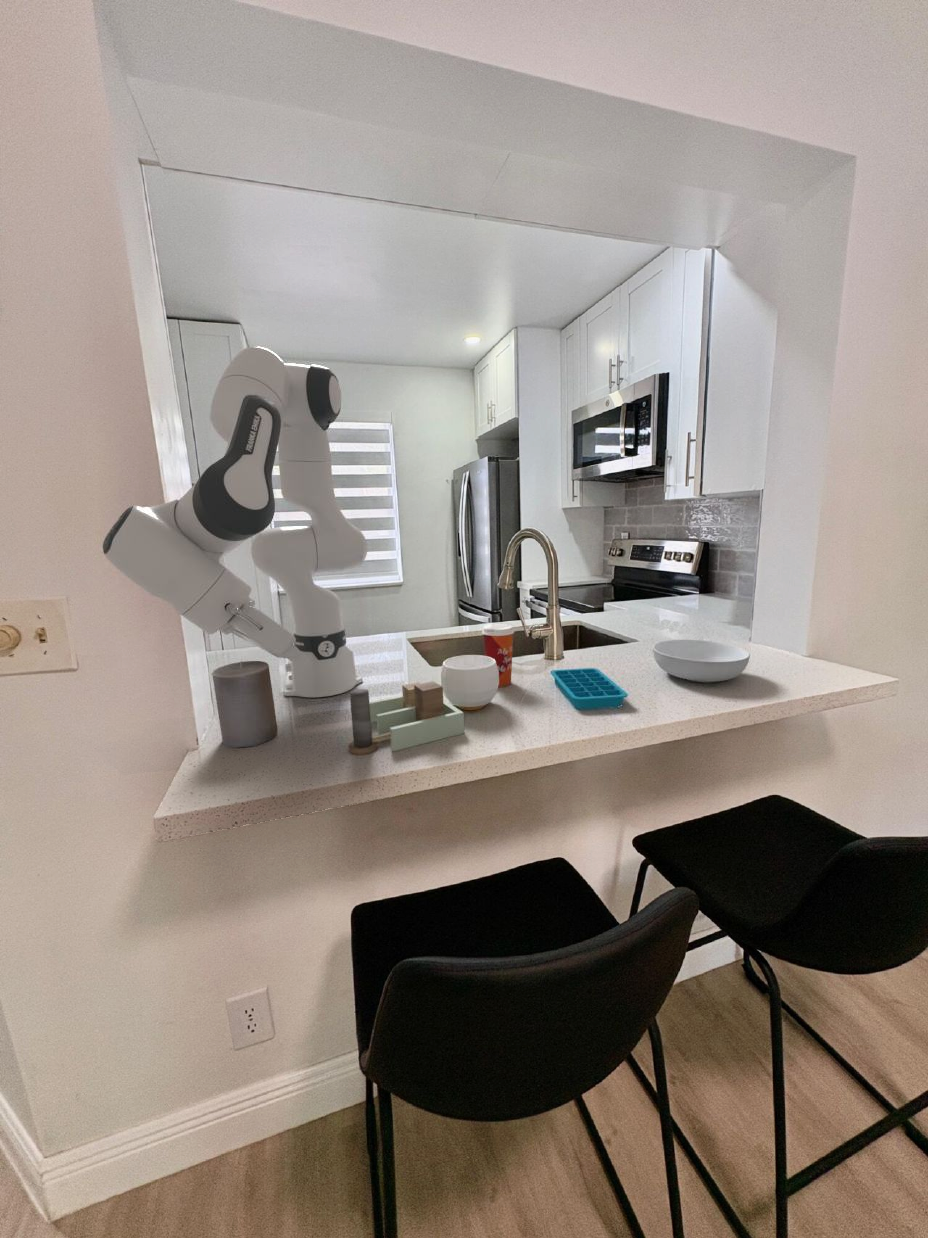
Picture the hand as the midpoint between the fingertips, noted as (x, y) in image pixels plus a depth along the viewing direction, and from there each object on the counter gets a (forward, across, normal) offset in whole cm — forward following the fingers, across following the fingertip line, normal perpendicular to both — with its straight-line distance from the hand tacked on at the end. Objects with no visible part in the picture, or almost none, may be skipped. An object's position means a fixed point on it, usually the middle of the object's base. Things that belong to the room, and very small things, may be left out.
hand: (296, 658), depth 78 cm
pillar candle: (+9, +20, +16) cm, 27 cm away
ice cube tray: (+56, -5, -30) cm, 64 cm away
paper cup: (+48, +14, -24) cm, 55 cm away
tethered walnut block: (+24, +1, +1) cm, 24 cm away
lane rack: (+28, +4, -2) cm, 28 cm away
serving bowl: (+76, -14, -51) cm, 93 cm away
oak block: (+29, +7, -5) cm, 31 cm away
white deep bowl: (+39, +6, -14) cm, 41 cm away
